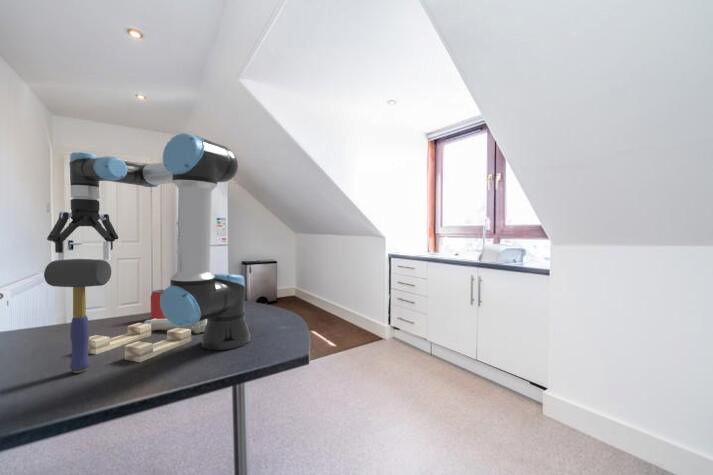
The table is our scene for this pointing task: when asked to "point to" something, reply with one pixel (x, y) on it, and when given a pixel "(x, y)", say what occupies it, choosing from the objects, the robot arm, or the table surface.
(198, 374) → the table surface
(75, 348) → the rubber mallet
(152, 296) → the beer can
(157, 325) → the light grey long bar
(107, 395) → the table surface
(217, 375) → the table surface
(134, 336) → the v block cradle
